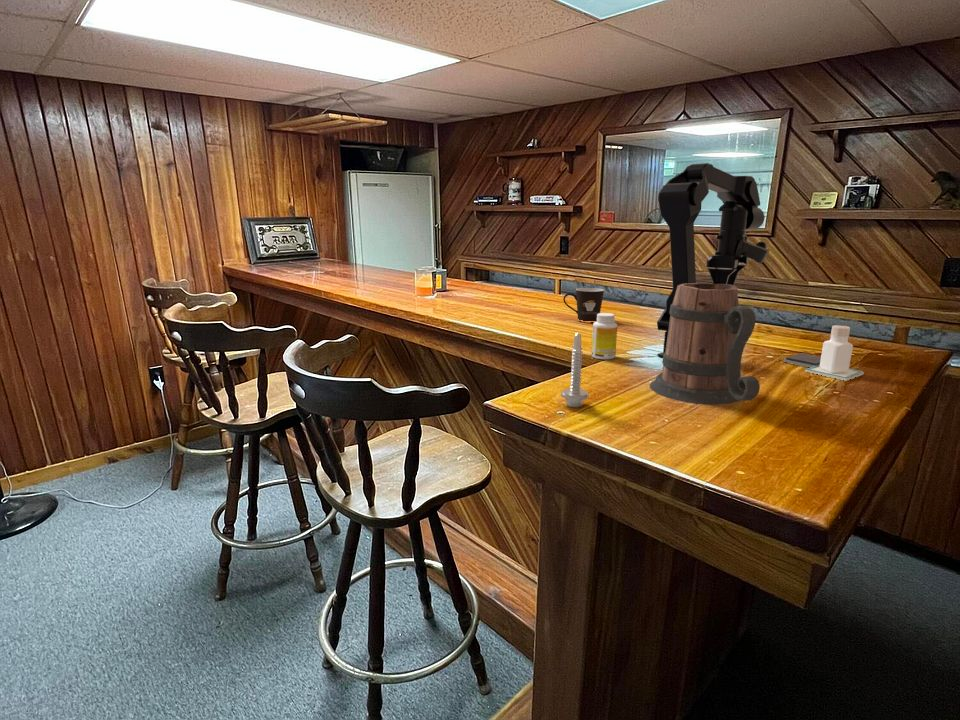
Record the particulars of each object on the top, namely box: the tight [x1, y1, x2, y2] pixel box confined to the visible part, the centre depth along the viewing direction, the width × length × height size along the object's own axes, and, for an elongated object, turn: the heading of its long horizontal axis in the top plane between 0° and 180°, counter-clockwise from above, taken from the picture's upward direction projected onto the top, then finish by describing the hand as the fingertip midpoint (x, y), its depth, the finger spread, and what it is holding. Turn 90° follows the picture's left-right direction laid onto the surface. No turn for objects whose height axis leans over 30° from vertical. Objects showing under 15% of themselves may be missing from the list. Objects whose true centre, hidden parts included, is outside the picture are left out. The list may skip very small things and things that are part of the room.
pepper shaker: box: [820, 325, 854, 373], centre depth 111 cm, size 4×4×10 cm
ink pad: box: [782, 352, 821, 368], centre depth 120 cm, size 8×7×1 cm
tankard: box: [649, 282, 761, 406], centre depth 96 cm, size 24×17×20 cm
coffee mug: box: [563, 287, 605, 321], centre depth 168 cm, size 12×9×10 cm
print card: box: [804, 366, 865, 382], centre depth 112 cm, size 8×8×1 cm
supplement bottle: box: [591, 312, 618, 361], centre depth 124 cm, size 6×6×10 cm
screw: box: [560, 332, 590, 408], centre depth 92 cm, size 13×5×5 cm
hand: (724, 294), depth 134 cm, fingers open, 9 cm apart
